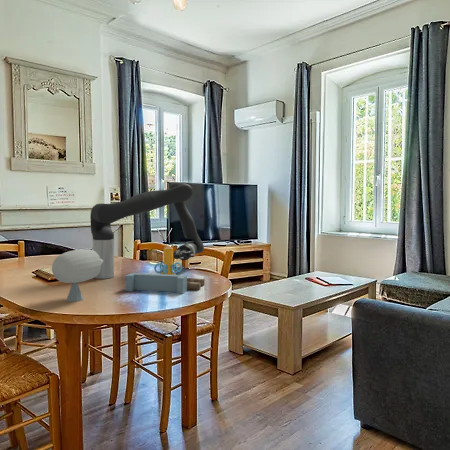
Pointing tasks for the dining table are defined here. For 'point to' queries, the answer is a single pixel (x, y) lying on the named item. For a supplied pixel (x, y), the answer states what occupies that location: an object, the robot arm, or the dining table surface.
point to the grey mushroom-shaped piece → (76, 269)
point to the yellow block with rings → (168, 263)
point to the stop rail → (156, 282)
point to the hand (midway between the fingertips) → (176, 256)
